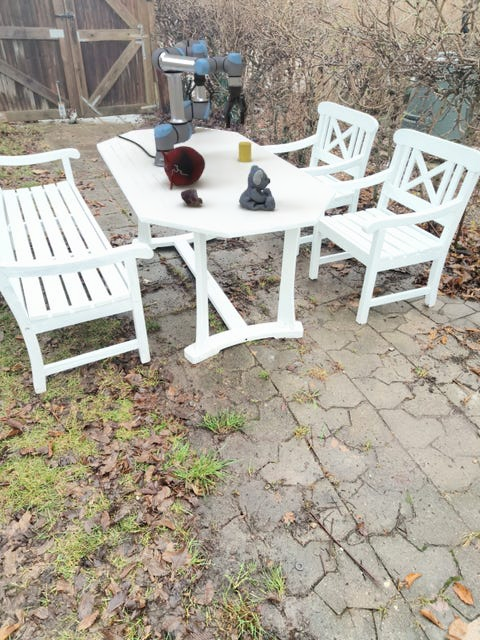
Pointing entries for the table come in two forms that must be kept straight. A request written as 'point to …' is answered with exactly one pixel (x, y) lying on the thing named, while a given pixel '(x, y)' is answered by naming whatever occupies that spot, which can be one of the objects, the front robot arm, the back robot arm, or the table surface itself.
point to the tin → (244, 151)
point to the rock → (191, 197)
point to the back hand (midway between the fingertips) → (200, 105)
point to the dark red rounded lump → (183, 165)
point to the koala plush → (257, 191)
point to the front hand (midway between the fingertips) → (235, 126)
